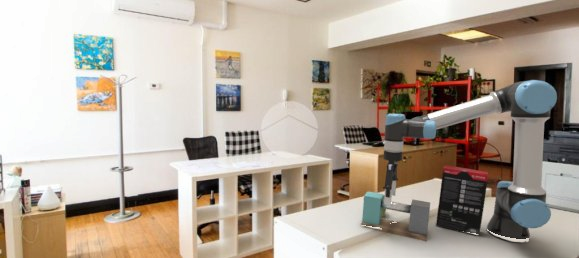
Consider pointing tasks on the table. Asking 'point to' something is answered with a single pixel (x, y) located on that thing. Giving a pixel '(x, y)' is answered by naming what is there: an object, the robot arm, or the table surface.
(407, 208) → the steel tube
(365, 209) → the teal socket block
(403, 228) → the walnut board
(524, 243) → the table surface
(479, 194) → the graphics card box
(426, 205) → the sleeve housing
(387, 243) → the table surface
